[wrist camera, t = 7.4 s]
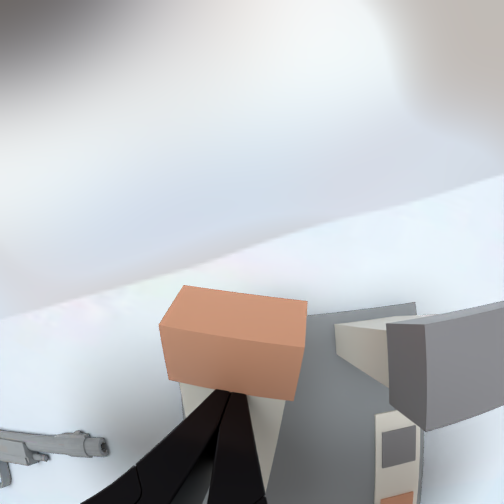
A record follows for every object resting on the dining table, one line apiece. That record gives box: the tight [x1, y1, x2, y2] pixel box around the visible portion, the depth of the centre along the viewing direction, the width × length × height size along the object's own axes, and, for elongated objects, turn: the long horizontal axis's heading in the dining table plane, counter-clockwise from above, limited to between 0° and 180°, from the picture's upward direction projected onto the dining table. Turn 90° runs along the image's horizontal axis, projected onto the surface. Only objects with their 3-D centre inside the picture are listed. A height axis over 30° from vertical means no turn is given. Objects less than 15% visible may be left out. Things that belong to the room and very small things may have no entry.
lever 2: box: [334, 301, 504, 432], centre depth 9 cm, size 2×3×10 cm, turn 93°
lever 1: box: [159, 285, 307, 493], centre depth 10 cm, size 2×3×10 cm
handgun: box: [0, 430, 108, 488], centre depth 13 cm, size 2×23×12 cm
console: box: [181, 302, 424, 504], centre depth 13 cm, size 14×12×1 cm
